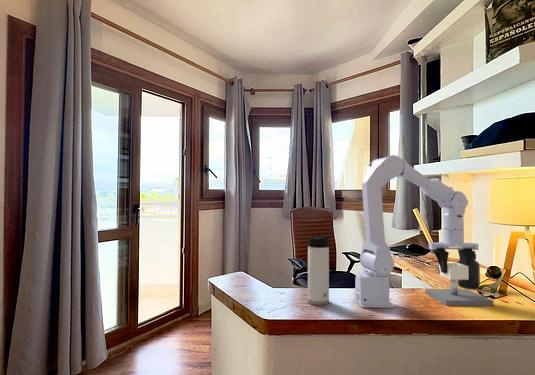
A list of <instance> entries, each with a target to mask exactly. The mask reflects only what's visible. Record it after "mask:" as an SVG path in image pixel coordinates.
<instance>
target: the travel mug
mask: <svg viewBox="0 0 535 375" xmlns="http://www.w3.org/2000/svg"><path fill="white" fill-rule="evenodd" d="M330 238H331V236H330V235H329V234H326V235H316V236H312V237H311V236H310V237H308V239H307V240H308V241H307V243H308V245H307V302H308V303H309V304H311V305H314V306H326V305H329V302H330V301H329V300H330V297H329V296H330V293H329V292H330V289H329V288H330V250H329V248H330V246H329V239H330Z"/></svg>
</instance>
